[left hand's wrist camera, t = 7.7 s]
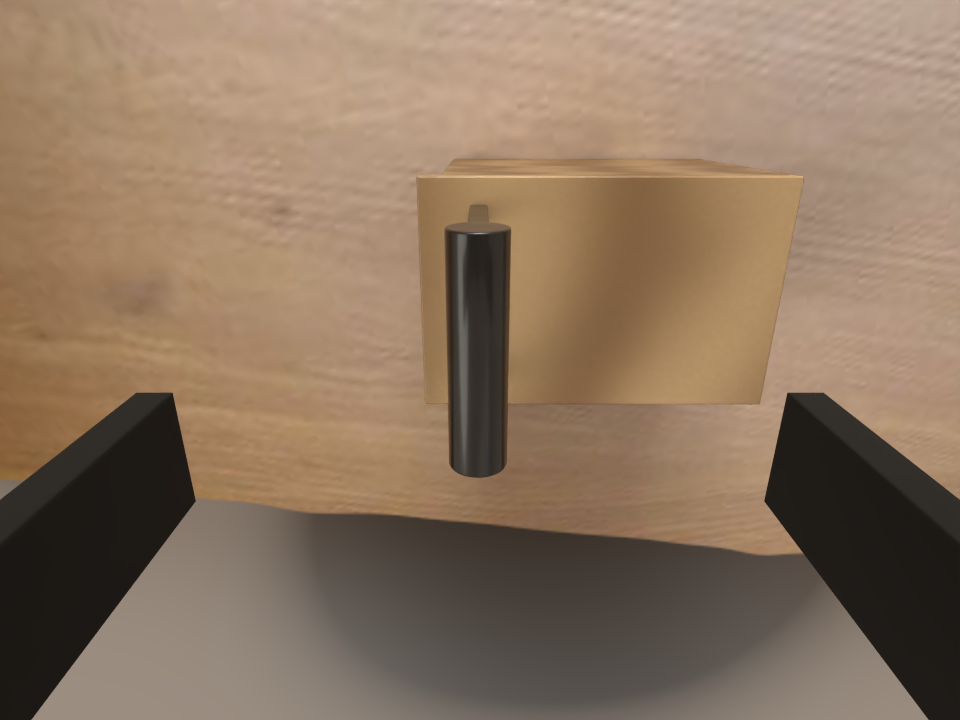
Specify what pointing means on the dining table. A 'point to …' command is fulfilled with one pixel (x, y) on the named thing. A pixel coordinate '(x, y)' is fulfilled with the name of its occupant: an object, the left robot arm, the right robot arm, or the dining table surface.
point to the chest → (598, 167)
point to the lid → (595, 293)
